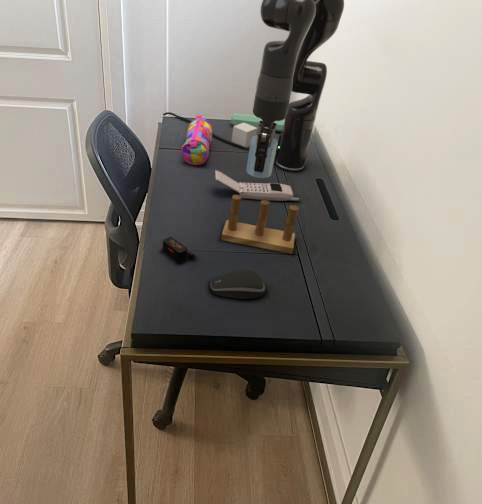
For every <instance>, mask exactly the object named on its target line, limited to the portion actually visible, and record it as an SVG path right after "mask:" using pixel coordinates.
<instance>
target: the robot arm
mask: <svg viewBox="0 0 482 504" xmlns="http://www.w3.org/2000/svg"><path fill="white" fill-rule="evenodd" d="M344 9H345V0H262V2H261V4H260V11H259V13H260V18H261V20H262V22H263V24H264V25H265V26H267V27H269V28H272V29H276V30H281V31H286V32H289V33H288V35H287V38H286V39H285V40H271V41H268V42H267V43H266V44H265V46H264V48H263V52H262V58H261V64H260V70H259V73H258V77H257V81H256V89H255V95H254V101H253V107H252V115H255V116H256V117H258V118H260V119H262V121H261V120H260V122H259V124H258V129H257V134H256V136H257V139H256V145H257V147H256V153H255V157H256V160H255V166H254V171H256V172H263V171H264V166H265V160H266V157H267V155H268V154H267V152H268V148H270V147H271V144H272V139H273V138H274V135H275V134H276V126H277V123H274V122H275V121H281V120H284V119H285V121H284V126H283V131H282V132H280V133H279V135H278V140H277V142H278V143H277V149H276V154H275V159H274V163H275V165H276V166H277V167H278V168H280V169H282V170H283V171H288V172H300V171H303V170H304V169H305V165H306V161H307V156H308V151H309V147H310V142H311V139H312V135H313V130H314V126H315V122H316V118H317V113H318V109H319V104H320V101H321V98H322V94H323V90H324V88H325V84H326V80H327V75H328V68H327V67H328V66H327V65H326V63H323V62H320V61H312V60H311V61H310V60H308V59H309V58H310V57H311V55H312V54H314V52H316V50H318V49H319V48H320V47H322V46H323V45H325V43H326V42H327V41H329V40H330V39H331V38H332V37H333V36H334V35H335V34H336V32H337V30H338V28H339V25H340V22H341V19H342V17H343V13H344ZM292 93H295V94H303V95H306V96H305V97H304V98H301V99H298V100H293V101H291V96H292ZM290 101H291V102H290ZM166 115H171V116H173V117H175V118H177V119H180V120H183V121H185V122H188V123H189V124H190V123H191V122H192V121H193V120H191V119H188V118H186V117H183V116H181V115H178V114H176V113H173V112H170V111H166V112H164V113H163V114H162V116H166ZM212 137H215V138H217V139H218V140H221V141H223V142H224V143H227V144H229V145H233V146H235V147H238V148H241V149H244V150H247V151H249V150H250V147H244V146H242V145H239V144H236V143H233V142H231V141H232V140H231V141H230V140H228V139H225V138H223V137H221V136H219V135H217V134H215V133H214V132H212ZM269 140H270V141H269ZM259 148H260V149H265V152H261V151H259Z"/></svg>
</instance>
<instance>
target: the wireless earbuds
mask: <svg viewBox="0 0 482 504" xmlns="http://www.w3.org/2000/svg"><path fill="white" fill-rule="evenodd" d="M162 251H163V253H165V254H166V255H168V257H170V258H171V259H173V260H174V261H175V262H177V263H183V262H184V261H186V260H187V258H188V259H189V260H191V259H196V255H195V254H194V253H193V251H190V250H188V247H186V246H185V245H184V244H182V243H181V242H179V241H178V240H177V239H176V238H174V237H173V236H168V237H166V238H164V239H162Z"/></svg>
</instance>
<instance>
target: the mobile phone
mask: <svg viewBox="0 0 482 504" xmlns="http://www.w3.org/2000/svg"><path fill="white" fill-rule="evenodd" d="M214 178H215V179H214V180H216V181H218V182H220V183H221V184H223V185H224V186H226V187H227V188H229V189H230V190H234V191H235V192H236V193H238V195H239V196H241V199H247V200H258V201H262V200H267V201H273V202H275V201H276V202H287V201H291V202H294V201H295V202H296V201H298V202H299V201H300V198H299V197H294V193H293V190H292V187H291V185H289V184H283V183H277V182H269V183H264V182H263V183H262V182H238V181H236V180H235V179H233V178H231V177H229V175H226V174H224V173H223V172H221V171H220V170H217V169H215V171H214Z"/></svg>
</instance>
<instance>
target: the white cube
mask: <svg viewBox="0 0 482 504" xmlns="http://www.w3.org/2000/svg"><path fill="white" fill-rule="evenodd" d="M232 126H233V125H232ZM257 134H258V132H257V128H256V127H254V126H251V125H249V124H246V123H241V124H239V125H236V126H233V127H232V134H231V142H233V143H236V144H239V145H242V146H244V147H247V148H250V144H251V139H252V137H254V136H257Z"/></svg>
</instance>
